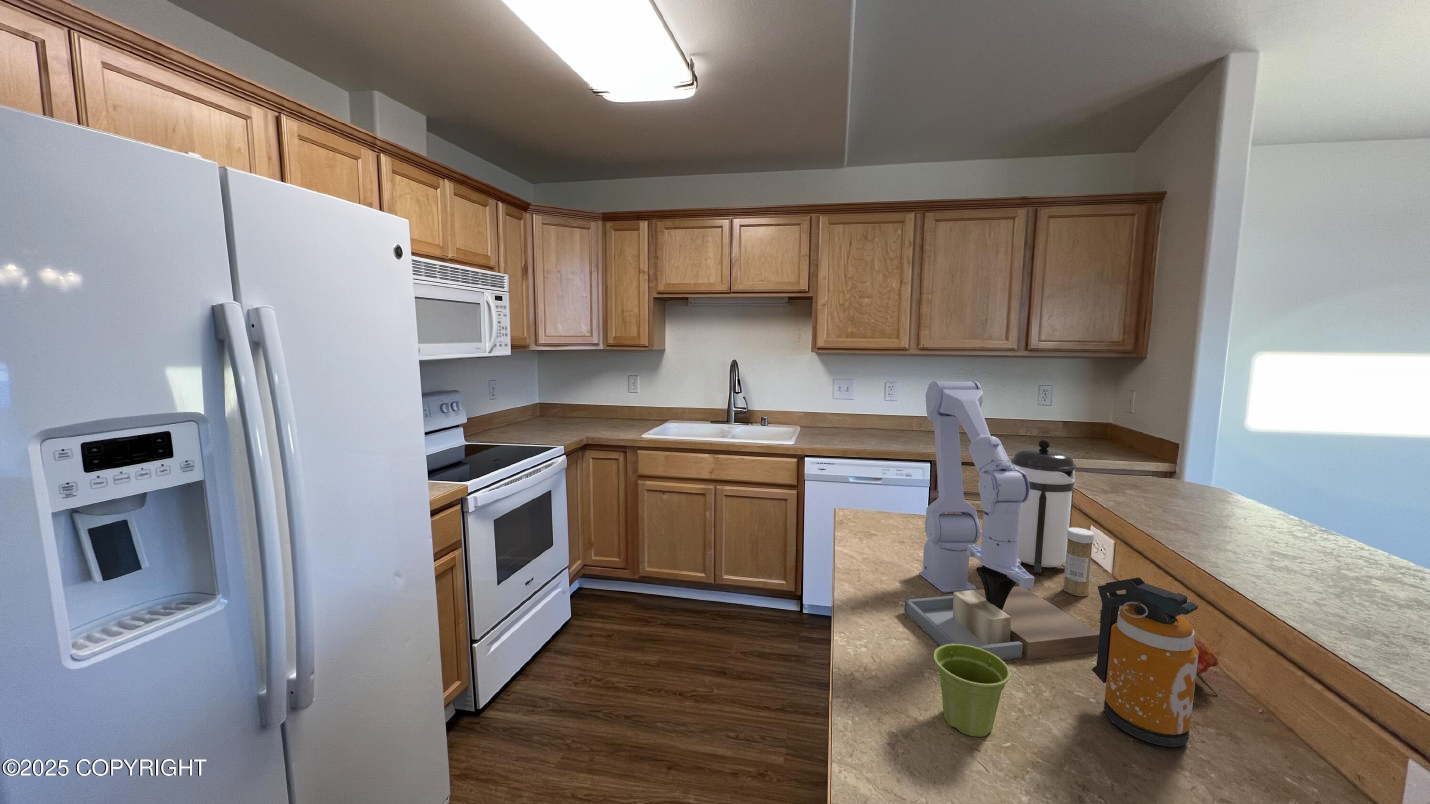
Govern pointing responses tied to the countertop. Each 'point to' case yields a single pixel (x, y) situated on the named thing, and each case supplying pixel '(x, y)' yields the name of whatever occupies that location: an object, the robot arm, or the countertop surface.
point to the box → (953, 627)
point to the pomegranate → (1204, 659)
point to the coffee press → (1045, 506)
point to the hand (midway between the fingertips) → (995, 608)
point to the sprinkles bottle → (1078, 561)
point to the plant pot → (970, 686)
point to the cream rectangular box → (981, 617)
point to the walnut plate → (1045, 627)
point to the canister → (1147, 661)
